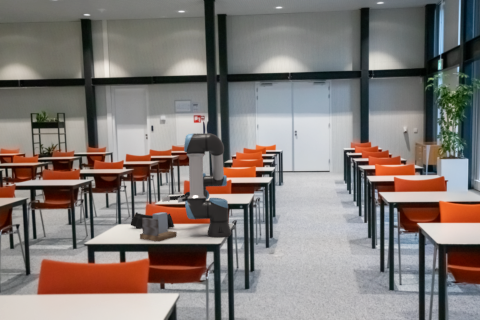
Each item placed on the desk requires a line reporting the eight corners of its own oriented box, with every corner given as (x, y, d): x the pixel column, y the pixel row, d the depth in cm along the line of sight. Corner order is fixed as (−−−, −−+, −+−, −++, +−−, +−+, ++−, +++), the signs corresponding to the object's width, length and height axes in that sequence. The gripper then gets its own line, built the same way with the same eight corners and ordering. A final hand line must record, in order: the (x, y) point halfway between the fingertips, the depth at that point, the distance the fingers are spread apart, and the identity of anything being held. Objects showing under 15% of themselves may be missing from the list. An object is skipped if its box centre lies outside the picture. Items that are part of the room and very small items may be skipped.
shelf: (176, 236, 329) (175, 216, 328) (158, 241, 316) (158, 220, 315) (158, 234, 338) (157, 214, 338) (140, 238, 325) (139, 218, 325)
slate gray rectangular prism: (167, 231, 331) (167, 212, 330) (159, 233, 324) (158, 214, 323) (162, 230, 334) (161, 212, 333) (153, 233, 327) (152, 214, 326)
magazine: (177, 215, 356) (137, 202, 361) (176, 216, 353) (135, 203, 358) (171, 239, 358) (131, 226, 363) (169, 240, 355) (129, 226, 360)
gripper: (206, 203, 348) (185, 206, 330) (178, 201, 362) (156, 204, 344) (205, 192, 347) (184, 194, 330) (177, 190, 362) (156, 193, 344)
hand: (170, 200), depth 337 cm, fingers open, 13 cm apart
